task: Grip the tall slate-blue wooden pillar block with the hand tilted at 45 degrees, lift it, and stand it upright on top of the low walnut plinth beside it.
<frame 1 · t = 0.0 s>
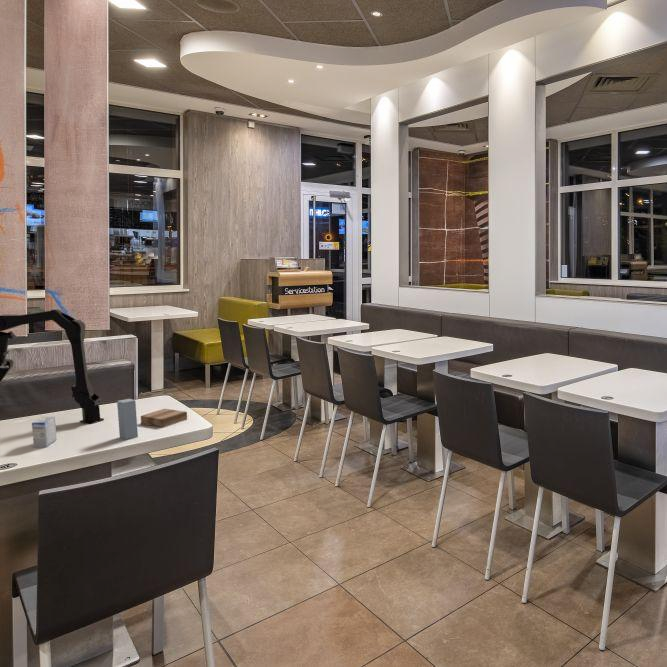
pillar block: (128, 437, 193), on the table
medicine box: (45, 444, 187), on the table
walnut plinth: (164, 421, 212), on the table
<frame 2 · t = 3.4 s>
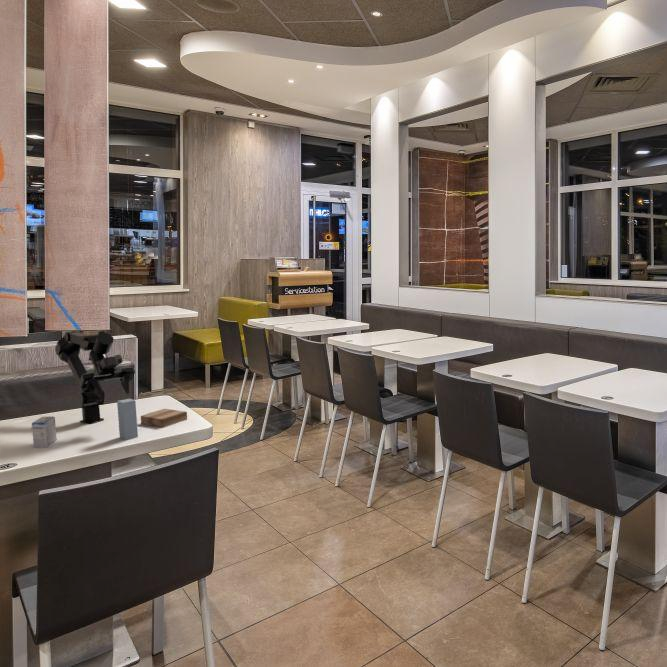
hand: (115, 395, 197), 14 cm above the table, tool tilted 45°, fingers open, 9 cm apart
nothing on the table moved.
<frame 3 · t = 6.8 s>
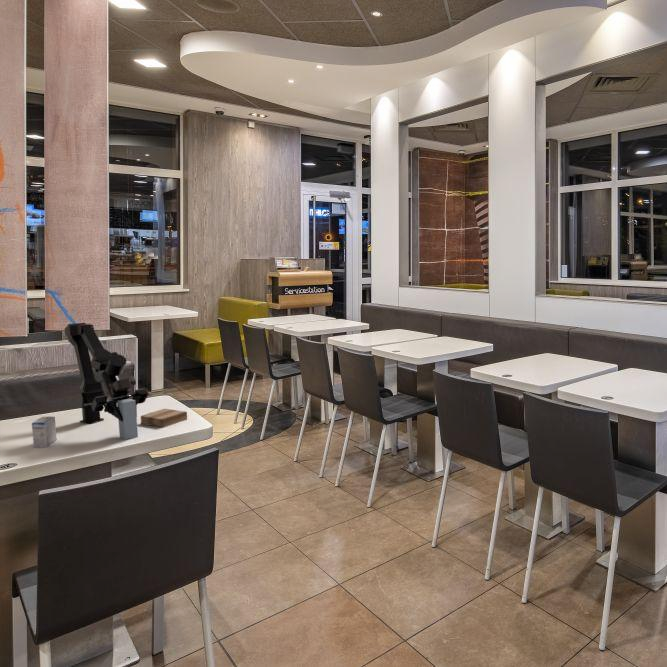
hand: (129, 419, 191), 7 cm above the table, tool tilted 45°, fingers closed on pillar block, 4 cm apart
pillar block: (128, 437, 193), on the table, touching gripper
everything else where it was.
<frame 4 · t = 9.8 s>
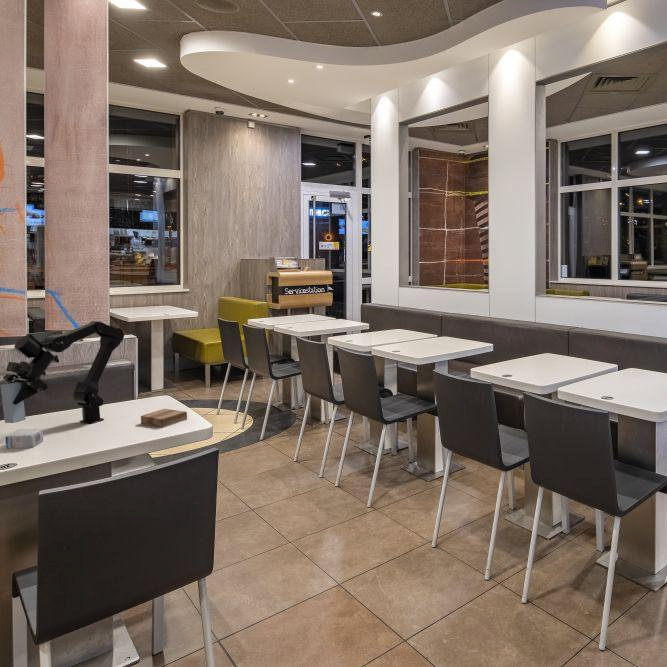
hand: (10, 403, 188), 14 cm above the table, tool tilted 45°, fingers closed on pillar block, 5 cm apart
pillar block: (15, 421, 189), point 8 cm above the table, tilted 5°, touching gripper
medicine box: (38, 437, 187), point 2 cm above the table
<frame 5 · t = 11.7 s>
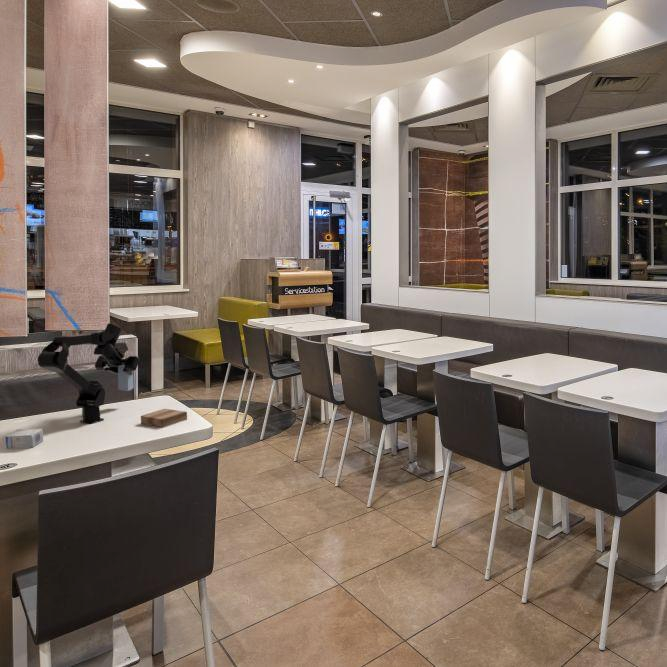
hand: (126, 374, 237), 14 cm above the table, tool tilted 45°, fingers closed on pillar block, 5 cm apart
pillar block: (126, 389, 237), point 8 cm above the table, tilted 5°, touching gripper
everything else where it was.
when the fingers open (11 cm above the table, at t = 16.6 s): pillar block drops 1 cm, resting on walnut plinth.
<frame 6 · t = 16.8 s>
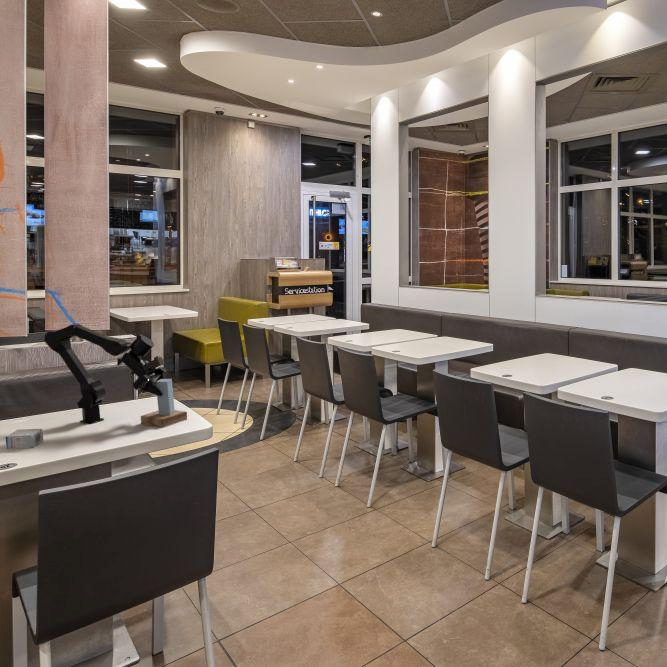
hand: (166, 393, 210), 11 cm above the table, tool tilted 45°, fingers open, 7 cm apart
pillar block: (166, 413, 212), point 3 cm above the table, touching walnut plinth
everything else where it was.
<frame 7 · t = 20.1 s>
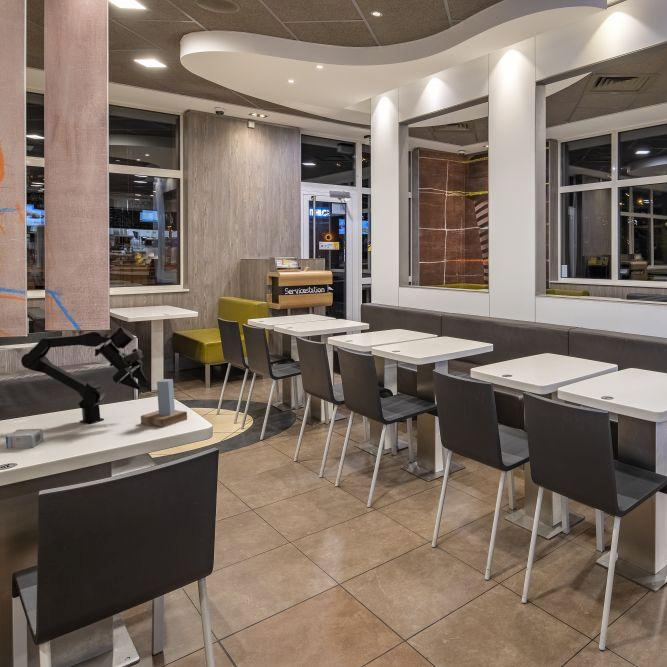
hand: (143, 385, 216), 13 cm above the table, tool tilted 40°, fingers open, 9 cm apart
nothing on the table moved.
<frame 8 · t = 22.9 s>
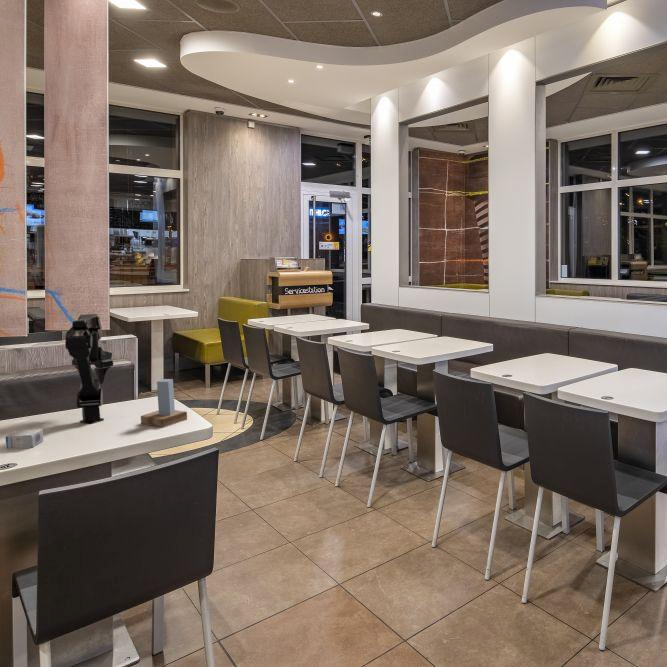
hand: (94, 383, 225), 13 cm above the table, tool pointing down, fingers open, 9 cm apart
nothing on the table moved.
at the end: pillar block inside the target area on the walnut plinth (1.1 cm from its centre), point 3.0 cm above the walnut plinth's base; pillar block tilted 0°; the gripper is holding nothing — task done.
